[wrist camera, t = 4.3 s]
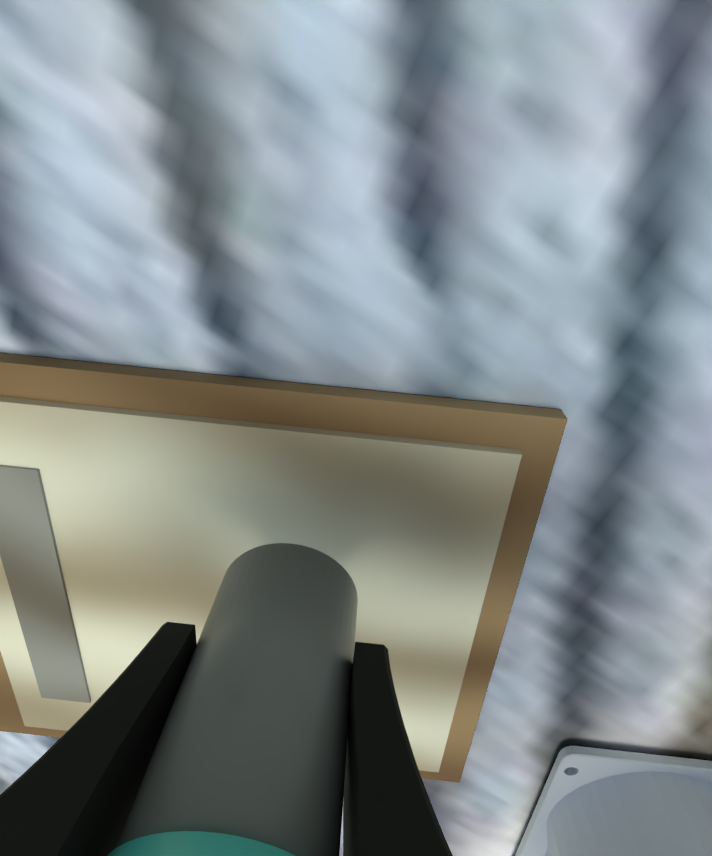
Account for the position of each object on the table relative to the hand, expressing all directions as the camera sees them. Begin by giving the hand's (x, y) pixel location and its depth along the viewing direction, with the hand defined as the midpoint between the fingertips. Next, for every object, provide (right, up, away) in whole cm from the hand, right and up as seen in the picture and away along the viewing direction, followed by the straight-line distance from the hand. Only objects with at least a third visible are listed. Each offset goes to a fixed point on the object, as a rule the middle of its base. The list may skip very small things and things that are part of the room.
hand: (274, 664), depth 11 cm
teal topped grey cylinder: (0, +1, +2) cm, 2 cm away
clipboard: (-3, -1, +6) cm, 7 cm away
